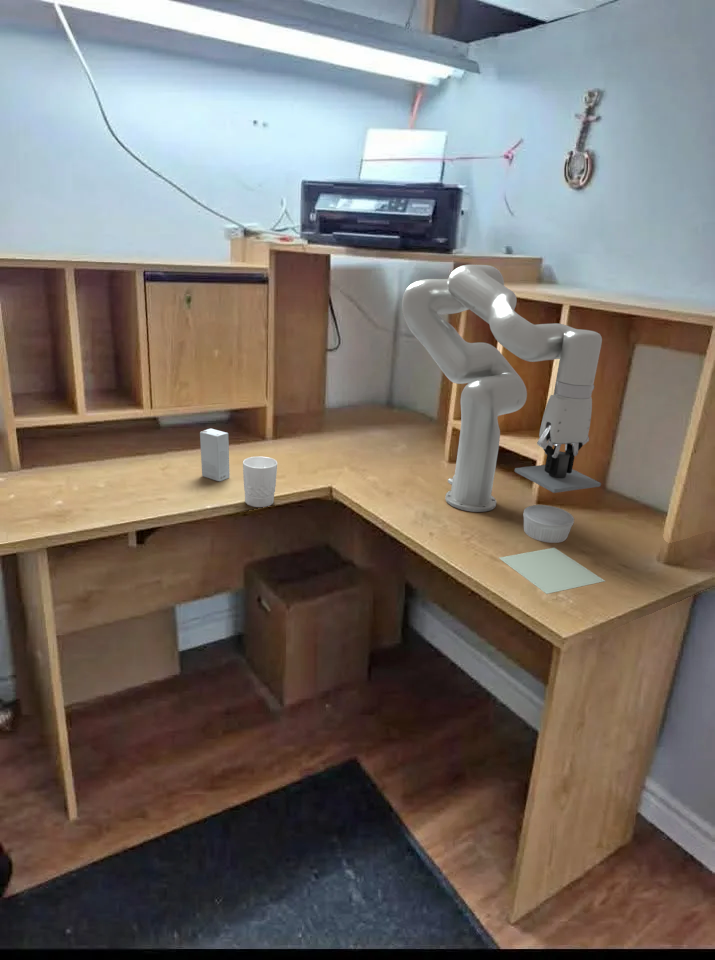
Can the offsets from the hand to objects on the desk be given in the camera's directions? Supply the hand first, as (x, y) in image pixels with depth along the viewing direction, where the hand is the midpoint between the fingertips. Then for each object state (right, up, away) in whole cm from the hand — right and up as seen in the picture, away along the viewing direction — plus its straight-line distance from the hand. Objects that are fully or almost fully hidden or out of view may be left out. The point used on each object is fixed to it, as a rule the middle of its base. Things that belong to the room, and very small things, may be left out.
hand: (557, 471), depth 146 cm
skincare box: (-80, -1, +24) cm, 84 cm away
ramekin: (-1, -15, +6) cm, 16 cm away
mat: (-5, -20, -10) cm, 23 cm away
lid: (0, -2, +1) cm, 2 cm away
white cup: (-67, -7, +12) cm, 69 cm away
